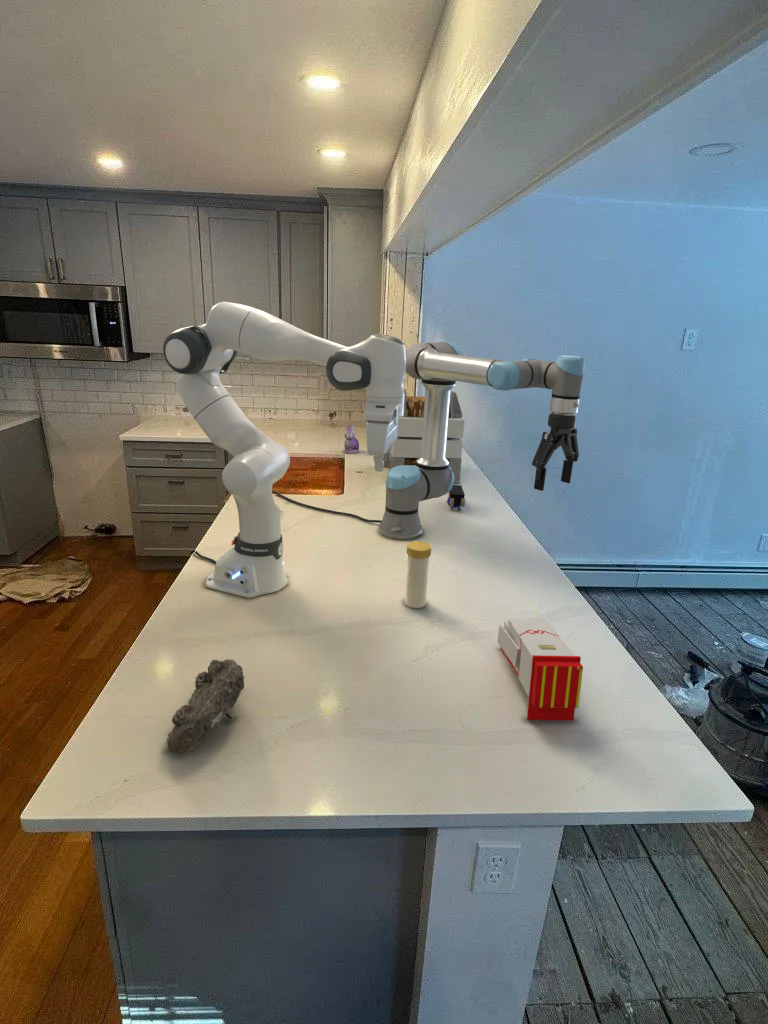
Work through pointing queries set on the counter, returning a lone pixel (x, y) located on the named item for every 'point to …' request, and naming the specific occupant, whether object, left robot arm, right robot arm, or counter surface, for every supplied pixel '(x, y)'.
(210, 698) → the fossil
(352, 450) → the figurine
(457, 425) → the white slatted box
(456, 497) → the figurine character
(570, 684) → the toy
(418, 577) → the jar
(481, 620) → the counter surface
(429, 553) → the lid
